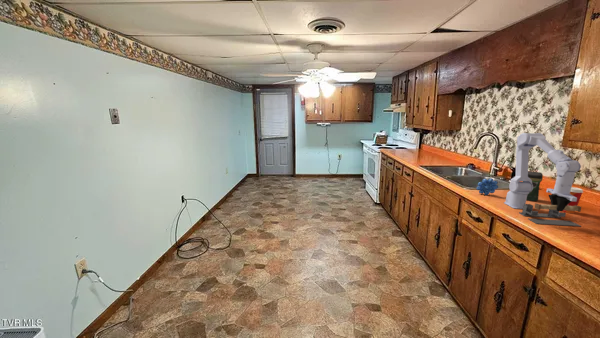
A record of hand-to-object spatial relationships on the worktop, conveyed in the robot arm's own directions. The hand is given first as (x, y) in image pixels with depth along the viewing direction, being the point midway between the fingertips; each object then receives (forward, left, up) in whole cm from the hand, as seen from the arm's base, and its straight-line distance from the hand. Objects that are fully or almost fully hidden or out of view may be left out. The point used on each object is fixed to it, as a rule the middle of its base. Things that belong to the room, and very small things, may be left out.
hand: (556, 210), depth 125 cm
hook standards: (-8, 0, -7) cm, 10 cm away
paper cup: (-18, +21, -7) cm, 29 cm away
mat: (0, 0, -7) cm, 7 cm away
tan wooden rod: (0, 0, 0) cm, 0 cm away
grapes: (-44, -8, -7) cm, 45 cm away
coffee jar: (-38, +14, -7) cm, 41 cm away
